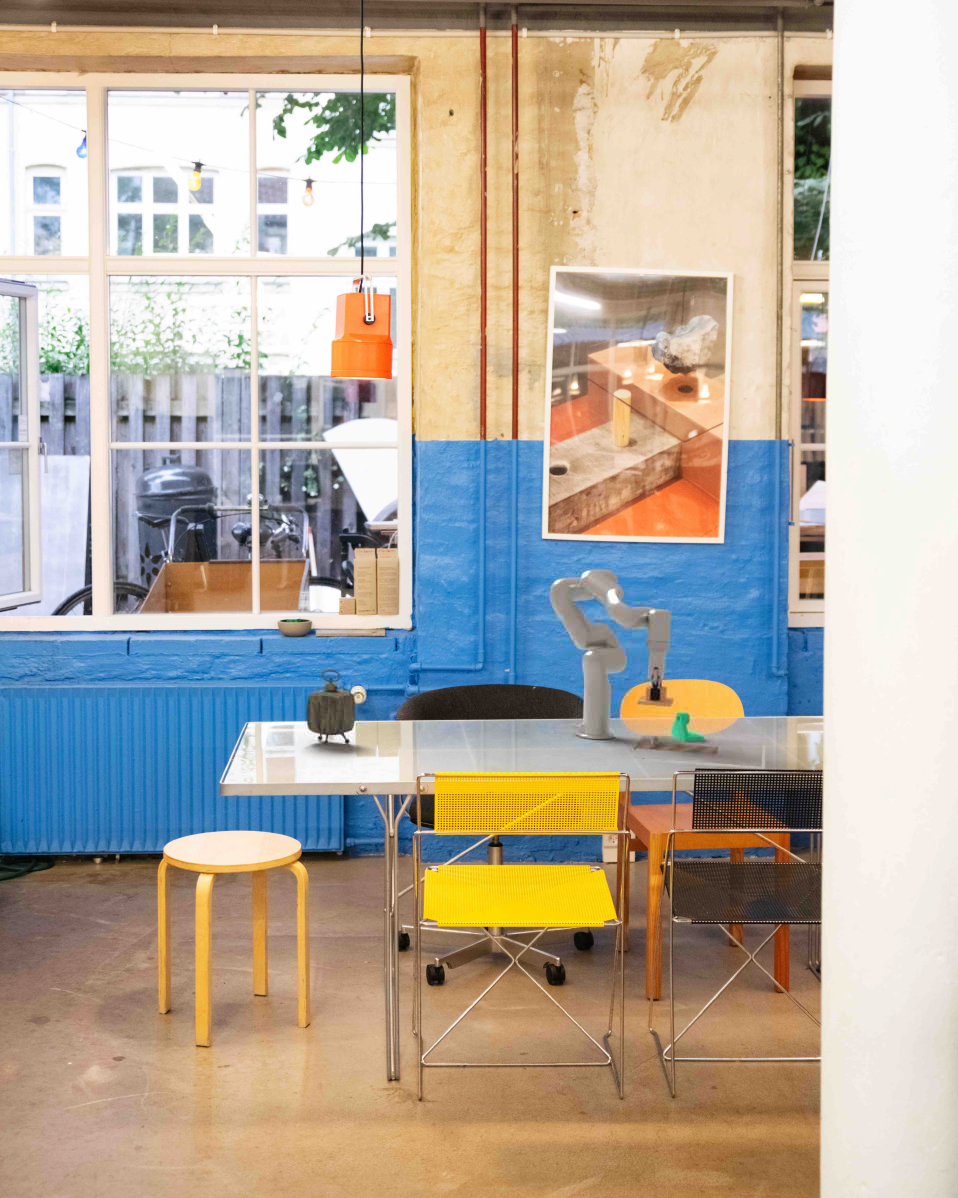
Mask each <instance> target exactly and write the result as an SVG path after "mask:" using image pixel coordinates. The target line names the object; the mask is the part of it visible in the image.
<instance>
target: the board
mask: <svg viewBox="0 0 958 1198" xmlns="http://www.w3.org/2000/svg"><path fill="white" fill-rule="evenodd" d="M633 749H634V750H636V749H644V750H657V751H658V750H659V751H669V752H670V751H673V752H685V753H686V752H688V753H697V754H699V753H700V754H701V753H702V754H715V755H717V754H718V749H719V747H718V746H708V745H707V746H706V745H695V744H693V745H692V744H680V743H679V744H678V743H667V742H659V736H650V741H640V740H639V741H637V743H636V744H635V746H634V748H633Z"/></svg>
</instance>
